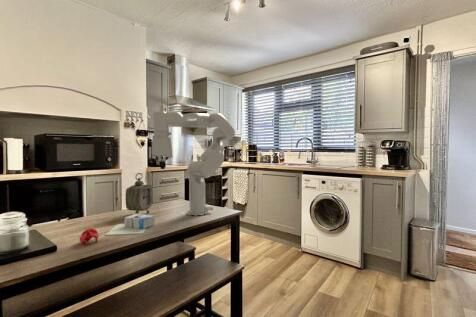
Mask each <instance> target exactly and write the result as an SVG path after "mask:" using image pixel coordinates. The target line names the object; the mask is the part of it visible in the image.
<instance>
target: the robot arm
mask: <svg viewBox="0 0 476 317" xmlns="http://www.w3.org/2000/svg"><path fill="white" fill-rule="evenodd" d="M152 121H153V122H152V123H153V124H152V125H153V137H152V141H151V154H152V155H151V158H152V159H155V160H157V161H158V162H159V168H160V170H165V169H166V167H167V166H166V165H167V163H166V161H167V160H168V159H171V158H173V157H174V156H173V148H172V139H171V136H172V132H169V127H172V128H173V127H174V128H175V127H176V128H204V129H205V128H207V129H209V128H210V129H211V128H212V129H213V128H214V129H213V131H212V142H211V144H210V145H209V146H208V147H207V148H206V149H205V150H204V151H203V152H202V154H200V157H199V159H200V160H194V161H192V162H190V163H189V164H188V166H187V176H188V182H189V184H188V185H189V187H188V188H189V189H188V190H189V191H188V194H189V197H188V198H189V200H188V201H189V203H188V204H189V210H187V211H186V215H188V216H191V215H194V216H195V217H198V216H197V215H201V216H204V214H205V215H208V213H209V211H213V210H214V207H213V206H207V204H206V182H205V179H208V178H211V177H212V176H214V174H215V173H216V172H217V171H218V170H219V168H220V167H221V166H222V165H223V163H224V161H225V155H224V152H223V151H224V149H225V145H224V144H225V143H224V141H226V140H227V141H228V140H229V141H230V140H233V139H234V137H235V136H236V131H235V128H234V127H233V126H232V124H231V123H230V122H229V121H228V119H227V118H226V117H225V116H224V115H223V114H222V113H219V112H214V113H202V112H200V113H199V112H188V113H181V112H179V111H165V110H164V111H162V110H157V111H154V112H153V113H152ZM162 157H163V159H162ZM194 216H193V217H194Z"/></svg>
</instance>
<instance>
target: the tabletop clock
mask: <svg viewBox="0 0 476 317" xmlns="http://www.w3.org/2000/svg"><path fill="white" fill-rule="evenodd" d="M138 175H141V178H140V177H138V178H137V176H138ZM135 179H136V181H135V182H134V185H131V186H128V187H127V188H126V189H125V208H126V209H127V210H129V211H135V212H134V214H140V212H143V211H146V213H147V214H149V213H150V208H151V207H152V205H153V189H152V184H144V181H142V179H143V173H141V172H138V173H136V174H135Z"/></svg>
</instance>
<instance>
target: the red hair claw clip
mask: <svg viewBox="0 0 476 317" xmlns="http://www.w3.org/2000/svg"><path fill="white" fill-rule="evenodd" d="M93 238H94V239H95V242H96V243H98V238H99V233H98V231H97V229H94V228H87V229H85V230H84V231H83V232H82V233H81V236H80V237H79V241H80V243H81V244H82V245H84V246H85V245H87V242H88V241H90V240H92V239H93ZM86 241H87V242H86Z"/></svg>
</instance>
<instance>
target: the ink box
mask: <svg viewBox="0 0 476 317" xmlns="http://www.w3.org/2000/svg"><path fill="white" fill-rule="evenodd" d="M155 223H156V222H155V214H154V215H152V214H150V215H149V214H143V213H142V214H141V213H139V214H135V213H134V214H131V215H128V216H125V217H124V222H123V224H124V227H131V228H139V229H145V228H146V229H147V228H150V227H152V226H154V225H155Z"/></svg>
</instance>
